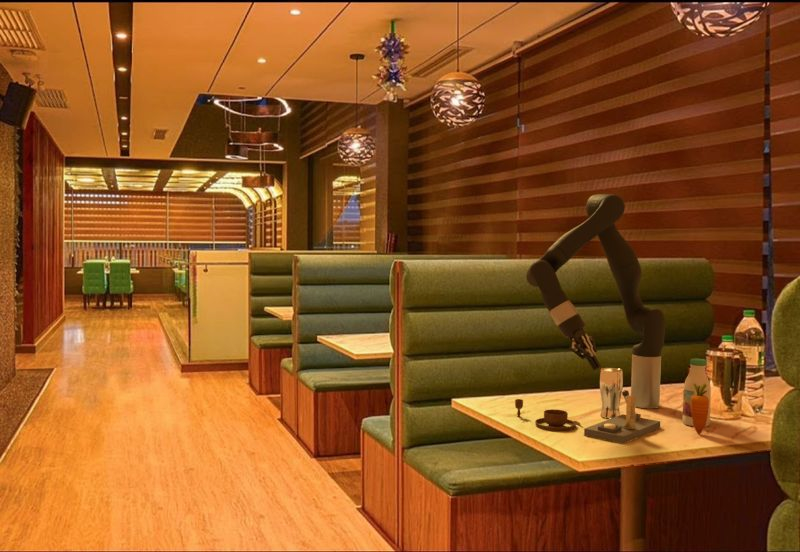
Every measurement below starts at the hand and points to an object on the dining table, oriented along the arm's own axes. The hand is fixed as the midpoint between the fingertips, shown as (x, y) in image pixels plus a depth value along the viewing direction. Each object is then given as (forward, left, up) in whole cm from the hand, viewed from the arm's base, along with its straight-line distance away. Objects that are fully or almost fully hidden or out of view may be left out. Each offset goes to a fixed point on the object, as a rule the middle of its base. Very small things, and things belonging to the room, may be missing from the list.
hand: (597, 368), depth 222 cm
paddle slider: (+5, +13, -15) cm, 20 cm away
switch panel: (+2, +9, -17) cm, 20 cm away
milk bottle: (-22, +21, -17) cm, 35 cm away
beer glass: (-12, -2, -17) cm, 21 cm away
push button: (+10, +9, -15) cm, 21 cm away
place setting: (+8, -11, -18) cm, 23 cm away
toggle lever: (-6, +9, -15) cm, 19 cm away
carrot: (-11, +26, -17) cm, 34 cm away
